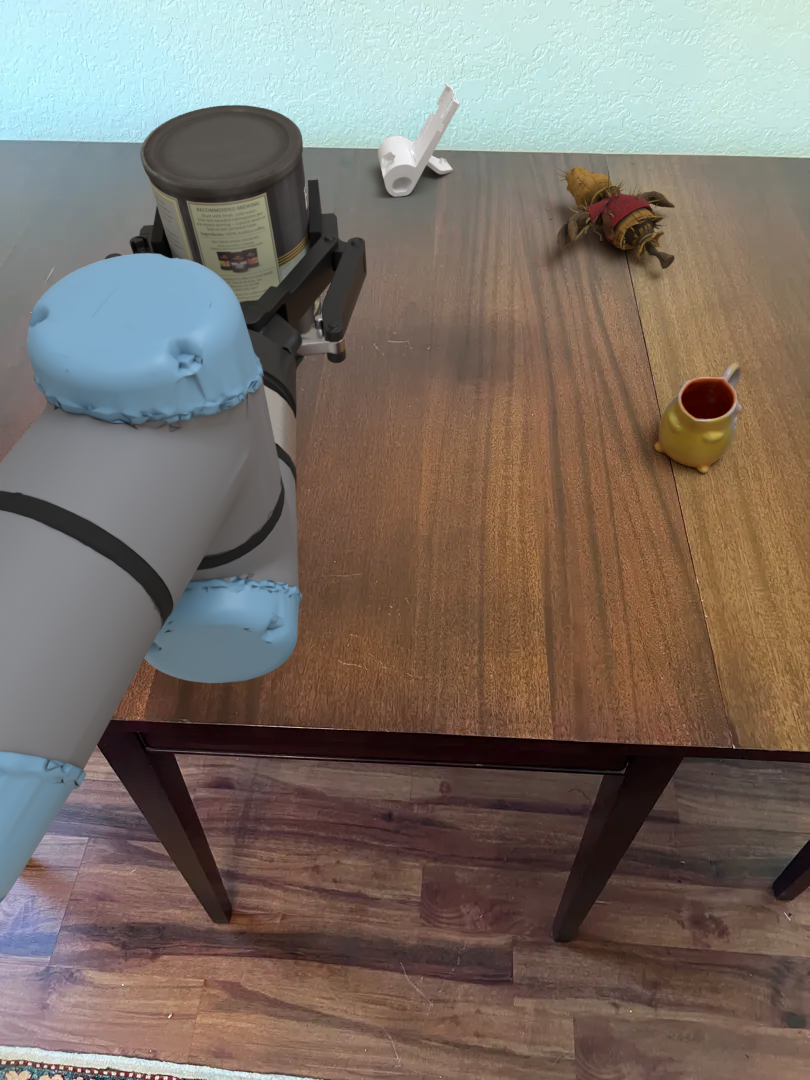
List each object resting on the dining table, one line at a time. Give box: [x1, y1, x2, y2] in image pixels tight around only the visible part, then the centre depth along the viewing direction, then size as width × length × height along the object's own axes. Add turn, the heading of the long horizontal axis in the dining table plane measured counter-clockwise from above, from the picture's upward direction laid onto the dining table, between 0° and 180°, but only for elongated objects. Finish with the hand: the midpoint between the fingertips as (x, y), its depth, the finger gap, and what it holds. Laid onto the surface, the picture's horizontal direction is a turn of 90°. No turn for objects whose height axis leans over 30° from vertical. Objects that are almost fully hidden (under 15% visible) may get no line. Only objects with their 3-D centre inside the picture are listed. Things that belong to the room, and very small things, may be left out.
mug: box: [653, 362, 743, 474], centre depth 76 cm, size 12×7×7 cm, turn 139°
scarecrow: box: [546, 161, 676, 270], centre depth 95 cm, size 17×16×8 cm
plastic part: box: [377, 82, 460, 198], centre depth 102 cm, size 8×10×12 cm
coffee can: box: [139, 104, 322, 334], centre depth 55 cm, size 10×10×14 cm
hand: (242, 201), depth 58 cm, fingers closed on coffee can, 10 cm apart
